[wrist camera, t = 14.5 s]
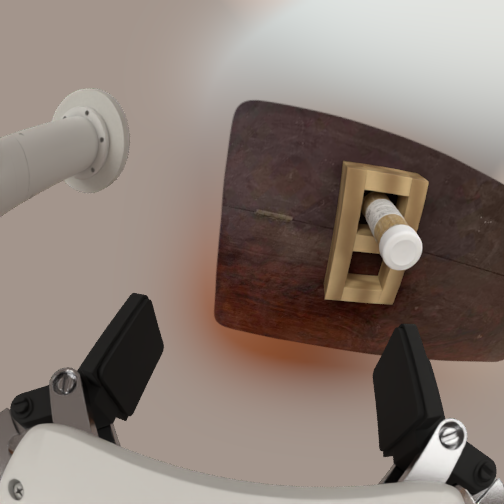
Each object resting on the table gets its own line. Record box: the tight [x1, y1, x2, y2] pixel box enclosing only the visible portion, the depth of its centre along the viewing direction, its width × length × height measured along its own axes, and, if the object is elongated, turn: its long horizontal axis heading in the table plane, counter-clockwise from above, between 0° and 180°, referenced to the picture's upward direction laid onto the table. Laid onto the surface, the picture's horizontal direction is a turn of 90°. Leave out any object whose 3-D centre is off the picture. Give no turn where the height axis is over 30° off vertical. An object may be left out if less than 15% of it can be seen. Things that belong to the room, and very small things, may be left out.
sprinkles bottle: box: [361, 191, 422, 270], centre depth 31 cm, size 5×5×14 cm
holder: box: [324, 161, 429, 305], centre depth 37 cm, size 11×20×4 cm, turn 179°
